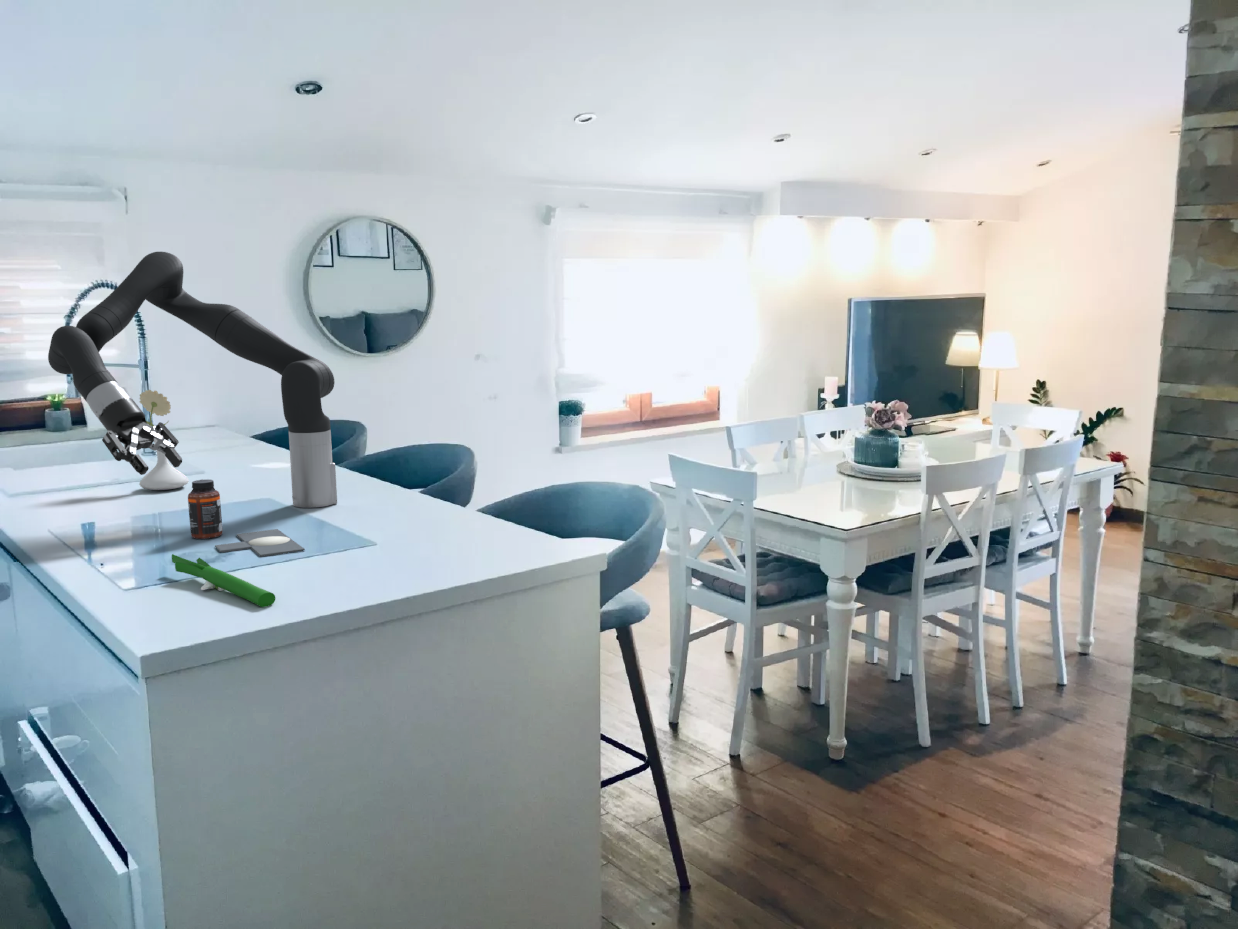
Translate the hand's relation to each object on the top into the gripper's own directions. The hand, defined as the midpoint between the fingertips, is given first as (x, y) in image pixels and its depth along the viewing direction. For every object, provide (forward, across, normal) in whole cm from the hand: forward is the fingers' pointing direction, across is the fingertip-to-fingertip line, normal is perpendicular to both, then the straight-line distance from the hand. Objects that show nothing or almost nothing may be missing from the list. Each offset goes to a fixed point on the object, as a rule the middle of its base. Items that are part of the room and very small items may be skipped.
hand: (162, 468), depth 199 cm
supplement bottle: (+17, 0, -2) cm, 17 cm away
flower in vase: (-18, -36, -38) cm, 56 cm away
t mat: (+27, +2, +8) cm, 28 cm away
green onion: (+37, +28, +19) cm, 51 cm away
